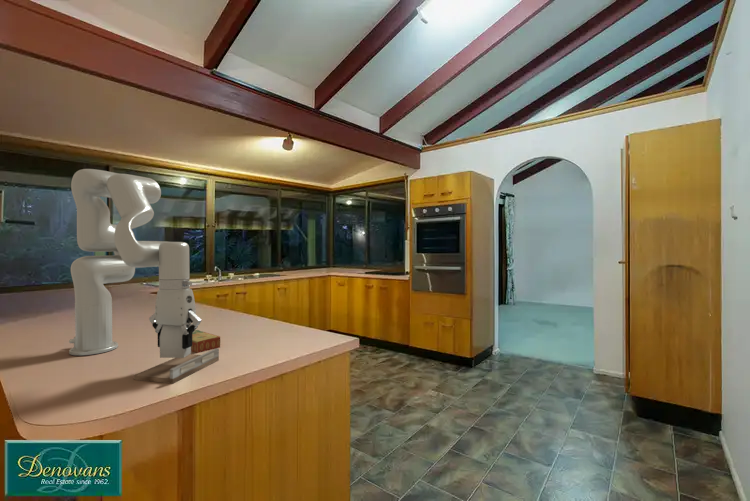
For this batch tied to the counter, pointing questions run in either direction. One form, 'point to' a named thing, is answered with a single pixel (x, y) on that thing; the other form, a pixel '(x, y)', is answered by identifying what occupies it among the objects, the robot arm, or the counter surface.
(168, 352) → the tea bag
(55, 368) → the counter surface
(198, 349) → the carton
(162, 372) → the shelf board
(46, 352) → the counter surface
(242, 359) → the counter surface
